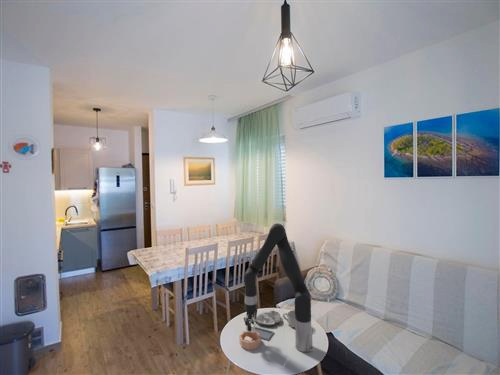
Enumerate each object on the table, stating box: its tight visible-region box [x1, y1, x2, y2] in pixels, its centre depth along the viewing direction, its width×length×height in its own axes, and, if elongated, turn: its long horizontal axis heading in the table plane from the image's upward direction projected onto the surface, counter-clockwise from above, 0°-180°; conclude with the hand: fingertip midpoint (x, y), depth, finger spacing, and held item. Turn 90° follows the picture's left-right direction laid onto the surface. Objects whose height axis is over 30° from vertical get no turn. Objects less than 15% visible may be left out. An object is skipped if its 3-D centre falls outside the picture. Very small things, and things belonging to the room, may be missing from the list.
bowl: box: [238, 331, 262, 351], centre depth 160 cm, size 12×12×5 cm
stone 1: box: [245, 323, 256, 333], centre depth 161 cm, size 4×3×4 cm
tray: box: [255, 326, 275, 342], centre depth 169 cm, size 14×9×1 cm, turn 62°
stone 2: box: [244, 336, 253, 342], centre depth 158 cm, size 4×3×4 cm
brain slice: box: [255, 310, 282, 327], centre depth 185 cm, size 20×17×3 cm
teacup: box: [282, 309, 295, 329], centre depth 179 cm, size 14×11×8 cm
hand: (250, 329), depth 161 cm, fingers closed on stone 1, 3 cm apart
